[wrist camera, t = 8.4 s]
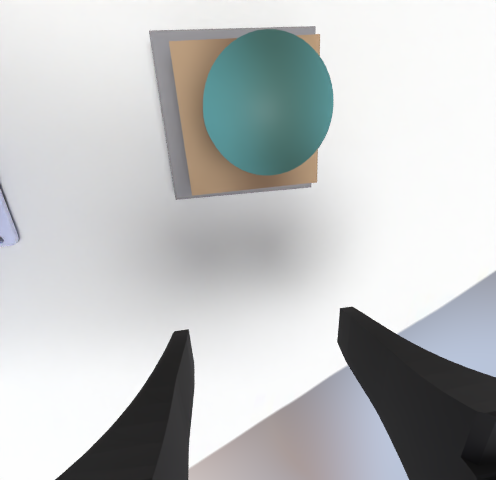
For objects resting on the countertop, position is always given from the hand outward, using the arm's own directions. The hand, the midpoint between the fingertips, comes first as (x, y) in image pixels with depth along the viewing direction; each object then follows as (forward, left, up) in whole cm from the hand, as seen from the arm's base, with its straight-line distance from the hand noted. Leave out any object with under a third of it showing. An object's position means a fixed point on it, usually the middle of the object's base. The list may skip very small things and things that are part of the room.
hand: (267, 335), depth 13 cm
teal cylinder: (0, +10, -5) cm, 11 cm away
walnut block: (+1, +9, -8) cm, 12 cm away
